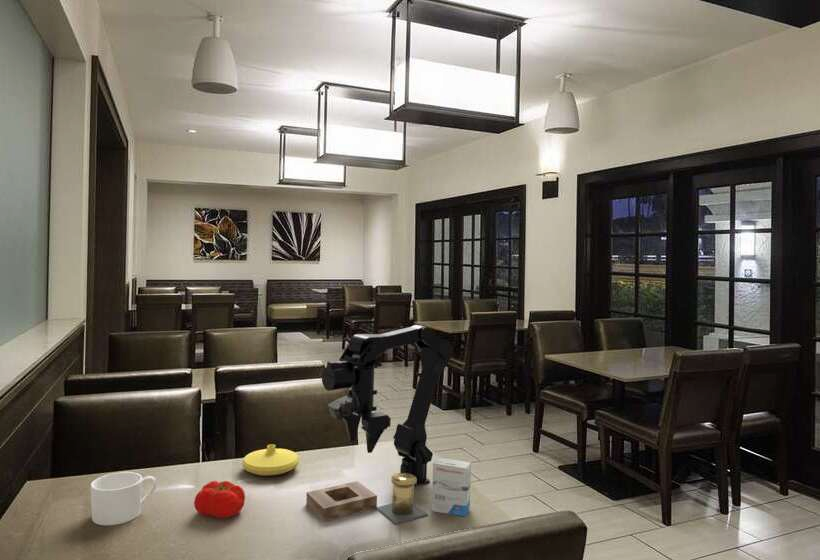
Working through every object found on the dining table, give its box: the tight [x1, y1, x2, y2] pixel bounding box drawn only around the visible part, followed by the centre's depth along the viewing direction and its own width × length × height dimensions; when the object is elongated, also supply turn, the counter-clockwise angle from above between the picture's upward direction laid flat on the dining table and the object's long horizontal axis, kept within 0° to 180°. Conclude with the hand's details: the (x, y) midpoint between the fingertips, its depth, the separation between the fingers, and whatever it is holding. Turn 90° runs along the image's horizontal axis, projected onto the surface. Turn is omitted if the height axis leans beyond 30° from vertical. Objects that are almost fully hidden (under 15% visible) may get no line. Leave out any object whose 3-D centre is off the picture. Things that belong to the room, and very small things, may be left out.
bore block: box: [306, 480, 378, 522], centre depth 136 cm, size 14×10×3 cm
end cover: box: [390, 472, 417, 515], centre depth 134 cm, size 6×6×8 cm
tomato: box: [193, 480, 246, 519], centre depth 131 cm, size 10×11×6 cm
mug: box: [90, 471, 157, 526], centre depth 128 cm, size 13×10×8 cm
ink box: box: [431, 457, 472, 518], centre depth 136 cm, size 8×5×12 cm, turn 71°
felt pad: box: [375, 502, 429, 525], centre depth 134 cm, size 9×9×1 cm
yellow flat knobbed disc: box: [241, 444, 300, 477], centre depth 157 cm, size 16×16×7 cm
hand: (360, 446), depth 140 cm, fingers open, 9 cm apart
